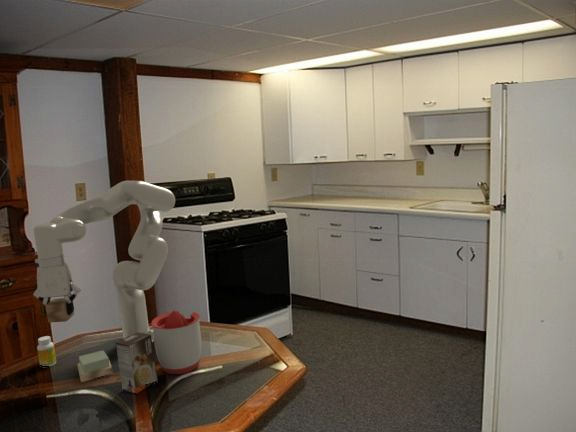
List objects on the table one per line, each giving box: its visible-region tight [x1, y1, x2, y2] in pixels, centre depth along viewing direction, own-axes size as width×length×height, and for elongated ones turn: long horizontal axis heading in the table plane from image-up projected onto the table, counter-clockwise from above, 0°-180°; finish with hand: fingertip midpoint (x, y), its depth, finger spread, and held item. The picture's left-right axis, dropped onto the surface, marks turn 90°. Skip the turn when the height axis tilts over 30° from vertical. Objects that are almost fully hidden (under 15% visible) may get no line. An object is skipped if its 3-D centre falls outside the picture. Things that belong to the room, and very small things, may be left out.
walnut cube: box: [44, 297, 75, 324], centre depth 179 cm, size 6×6×6 cm
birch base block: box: [77, 357, 114, 383], centre depth 182 cm, size 10×10×3 cm
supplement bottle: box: [36, 335, 57, 367], centre depth 191 cm, size 5×5×10 cm
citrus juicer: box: [150, 309, 202, 375], centre depth 181 cm, size 16×17×20 cm
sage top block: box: [78, 349, 110, 373], centre depth 182 cm, size 8×8×3 cm
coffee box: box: [115, 332, 158, 390], centre depth 169 cm, size 9×6×16 cm
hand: (60, 313), depth 179 cm, fingers closed on walnut cube, 6 cm apart
